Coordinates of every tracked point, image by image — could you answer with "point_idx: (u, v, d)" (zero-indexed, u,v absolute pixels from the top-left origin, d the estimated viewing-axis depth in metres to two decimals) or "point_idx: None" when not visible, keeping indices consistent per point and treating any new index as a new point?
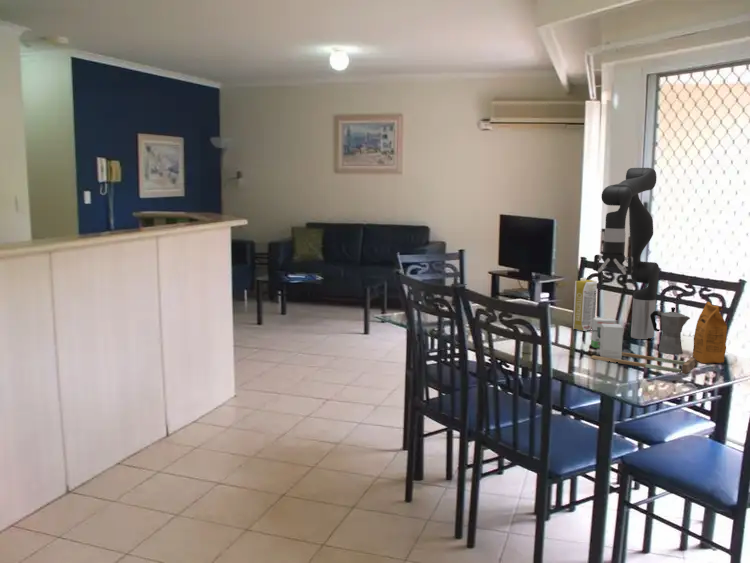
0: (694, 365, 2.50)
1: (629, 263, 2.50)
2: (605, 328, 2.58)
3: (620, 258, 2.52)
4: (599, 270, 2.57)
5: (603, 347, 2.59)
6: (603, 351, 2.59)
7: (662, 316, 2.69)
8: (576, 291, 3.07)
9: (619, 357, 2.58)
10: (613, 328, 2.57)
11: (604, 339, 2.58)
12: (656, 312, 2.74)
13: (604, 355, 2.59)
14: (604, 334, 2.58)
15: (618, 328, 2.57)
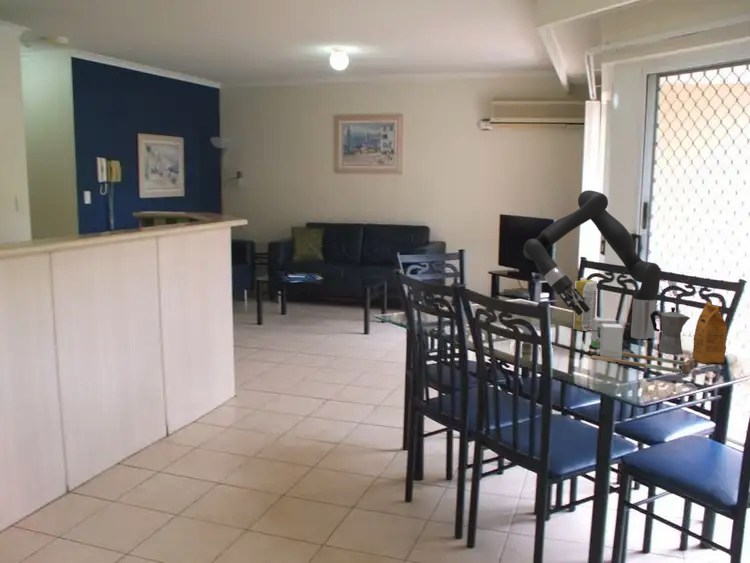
0: (694, 365, 2.50)
1: None
2: (605, 328, 2.58)
3: None
4: None
5: (603, 347, 2.59)
6: (603, 351, 2.59)
7: (662, 316, 2.69)
8: None
9: (619, 357, 2.58)
10: (613, 328, 2.57)
11: (604, 339, 2.58)
12: (656, 312, 2.74)
13: (604, 355, 2.59)
14: (604, 334, 2.58)
15: (618, 328, 2.57)
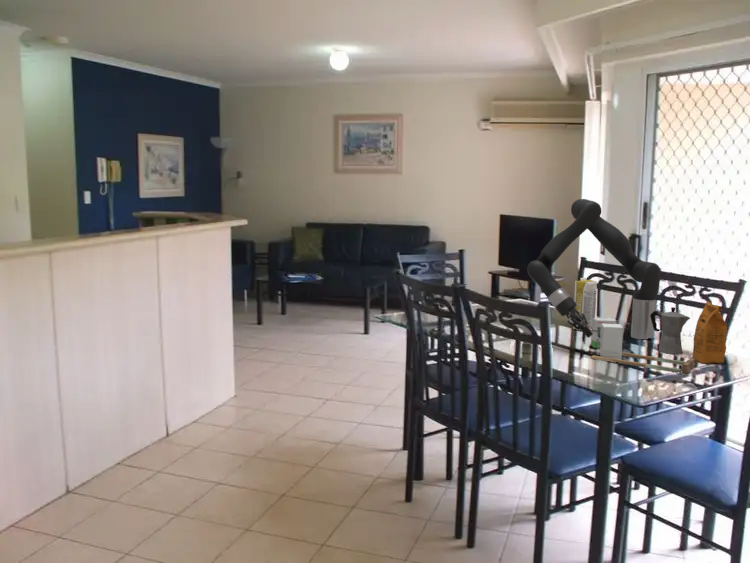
0: (694, 365, 2.50)
1: None
2: (605, 328, 2.58)
3: None
4: None
5: (603, 347, 2.59)
6: (603, 351, 2.59)
7: (662, 316, 2.69)
8: (576, 291, 3.07)
9: (619, 357, 2.58)
10: (613, 328, 2.57)
11: (604, 339, 2.58)
12: (656, 312, 2.74)
13: (604, 355, 2.59)
14: (604, 334, 2.58)
15: (618, 328, 2.57)
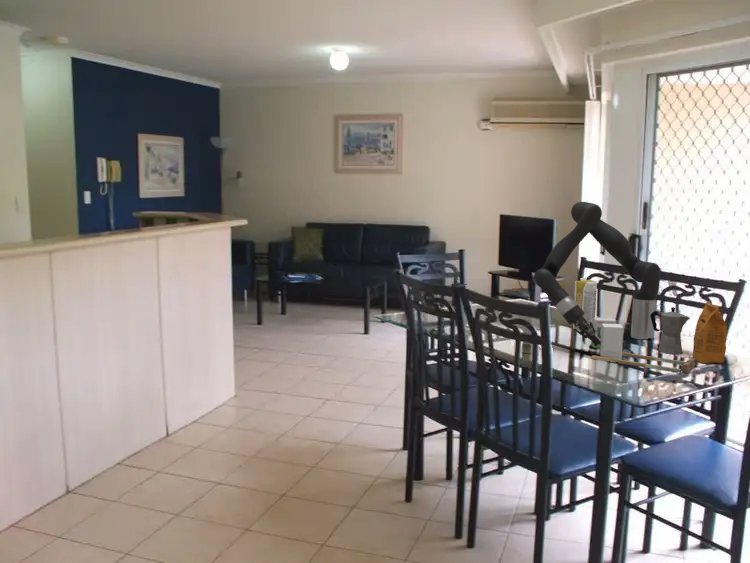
0: (694, 365, 2.50)
1: None
2: (605, 328, 2.58)
3: None
4: None
5: (603, 347, 2.59)
6: (603, 351, 2.59)
7: (662, 316, 2.69)
8: (576, 291, 3.07)
9: (619, 357, 2.58)
10: (613, 328, 2.57)
11: (604, 339, 2.58)
12: (656, 312, 2.74)
13: (604, 355, 2.59)
14: (604, 334, 2.58)
15: (618, 328, 2.57)
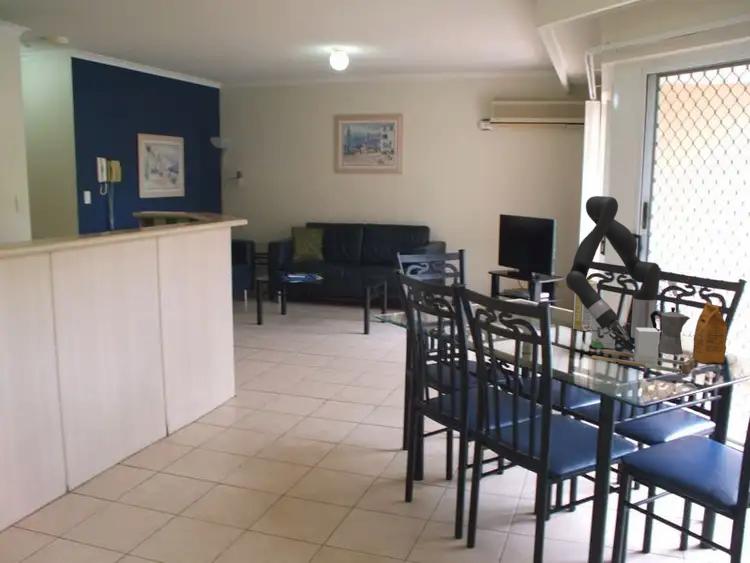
0: (694, 365, 2.50)
1: None
2: (641, 332, 2.51)
3: None
4: None
5: (638, 352, 2.52)
6: (638, 356, 2.52)
7: (662, 316, 2.69)
8: None
9: (655, 362, 2.51)
10: (649, 332, 2.50)
11: (639, 344, 2.51)
12: (656, 312, 2.74)
13: (639, 360, 2.52)
14: (639, 338, 2.51)
15: (654, 332, 2.50)
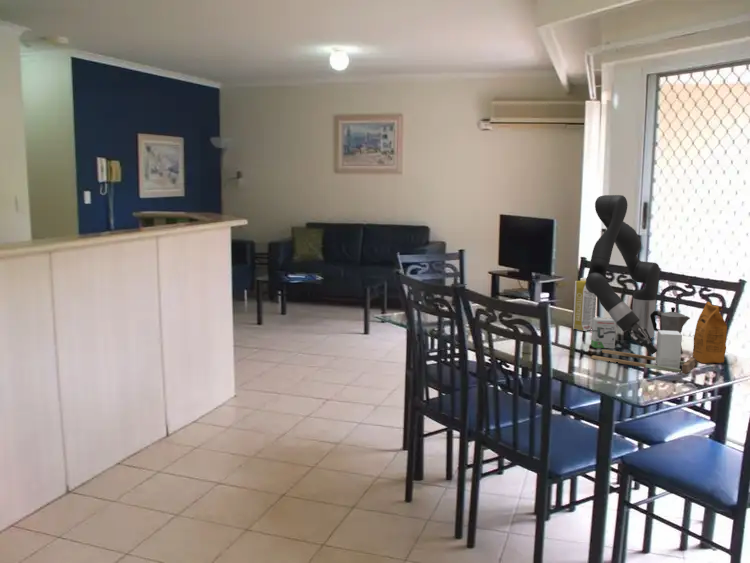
0: (694, 365, 2.50)
1: None
2: (662, 335, 2.46)
3: None
4: None
5: (660, 355, 2.47)
6: (660, 359, 2.47)
7: (662, 316, 2.69)
8: (576, 291, 3.07)
9: (677, 366, 2.46)
10: (671, 335, 2.45)
11: (661, 347, 2.47)
12: (656, 312, 2.74)
13: (661, 363, 2.47)
14: (661, 341, 2.46)
15: (676, 335, 2.45)
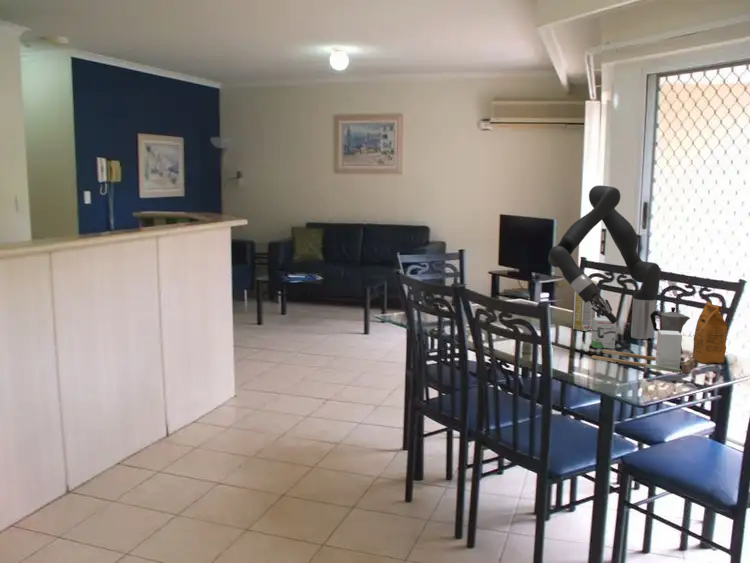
0: (694, 365, 2.50)
1: None
2: (663, 335, 2.46)
3: None
4: None
5: (660, 355, 2.47)
6: (660, 359, 2.47)
7: (662, 316, 2.69)
8: None
9: (677, 366, 2.46)
10: (671, 335, 2.45)
11: (661, 347, 2.47)
12: (656, 312, 2.74)
13: (661, 363, 2.47)
14: (661, 341, 2.46)
15: (676, 335, 2.45)
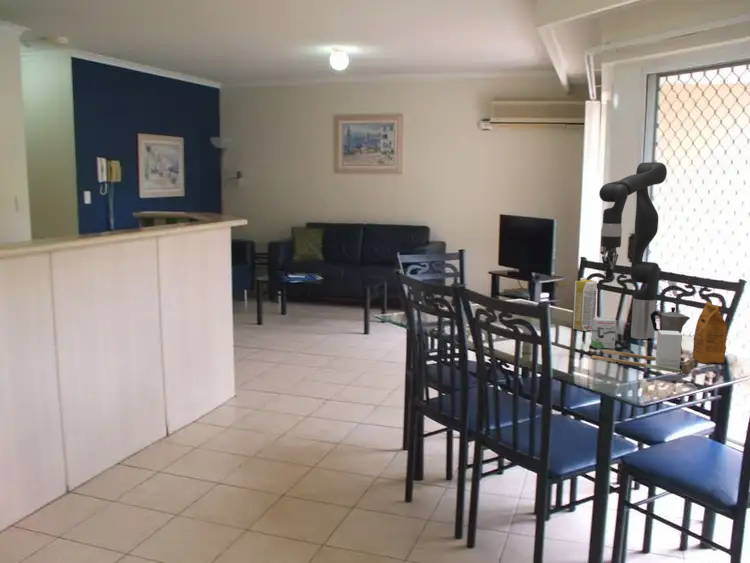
0: (694, 365, 2.50)
1: None
2: (663, 335, 2.46)
3: None
4: None
5: (660, 355, 2.47)
6: (660, 359, 2.47)
7: (662, 316, 2.69)
8: (576, 291, 3.07)
9: (677, 366, 2.46)
10: (671, 335, 2.45)
11: (661, 347, 2.47)
12: (656, 312, 2.74)
13: (661, 363, 2.47)
14: (661, 341, 2.46)
15: (676, 335, 2.45)
